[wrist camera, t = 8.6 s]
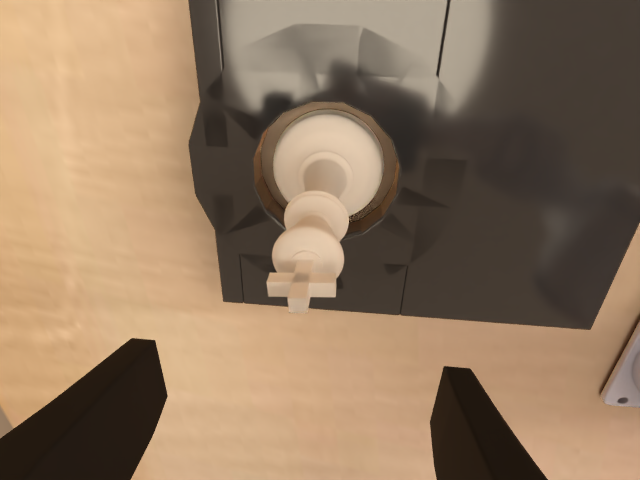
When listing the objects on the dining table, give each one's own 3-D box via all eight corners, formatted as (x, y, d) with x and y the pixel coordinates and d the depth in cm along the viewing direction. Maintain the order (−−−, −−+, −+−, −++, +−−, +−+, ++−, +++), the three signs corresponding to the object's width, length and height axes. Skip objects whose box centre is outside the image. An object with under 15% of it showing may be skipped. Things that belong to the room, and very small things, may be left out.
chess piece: (267, 111, 17) (172, 210, 9) (385, 106, 17) (410, 208, 8) (279, 215, 20) (214, 377, 11) (382, 214, 19) (400, 383, 10)
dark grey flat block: (728, -47, 13) (767, -53, 12) (576, 310, 21) (590, 330, 19) (177, -56, 15) (159, -63, 13) (218, 284, 22) (209, 301, 21)
